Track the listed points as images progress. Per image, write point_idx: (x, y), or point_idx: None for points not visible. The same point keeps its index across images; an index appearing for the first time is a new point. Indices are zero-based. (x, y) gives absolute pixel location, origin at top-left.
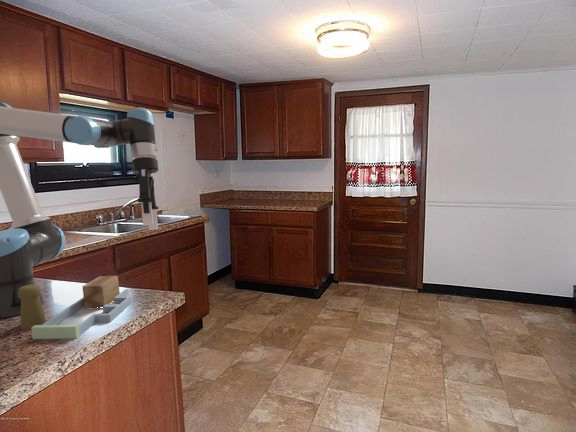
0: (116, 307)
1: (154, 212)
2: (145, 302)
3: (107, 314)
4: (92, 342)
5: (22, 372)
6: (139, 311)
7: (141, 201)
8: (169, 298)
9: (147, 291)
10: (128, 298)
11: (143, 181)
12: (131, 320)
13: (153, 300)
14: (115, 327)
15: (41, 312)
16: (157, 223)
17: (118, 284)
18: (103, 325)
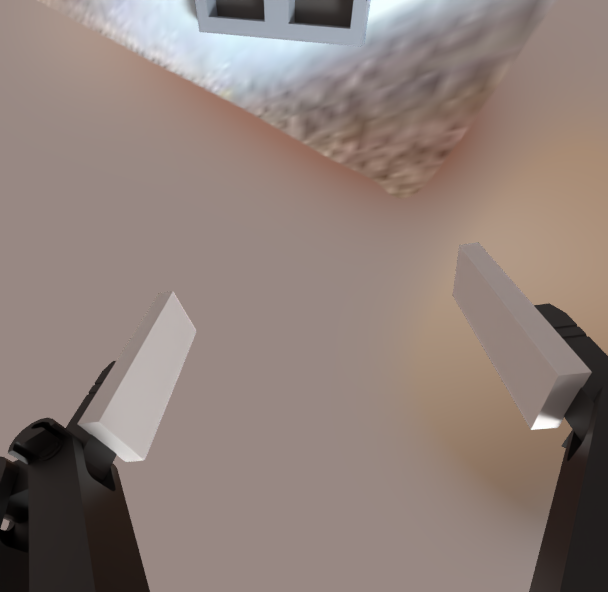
0: (256, 26)
1: (515, 388)
2: (357, 100)
3: (200, 19)
4: (104, 35)
5: None
6: (285, 103)
7: (50, 439)
8: (376, 174)
9: (488, 69)
10: (340, 41)
11: None
12: (226, 99)
13: (370, 125)
14: (183, 65)
15: None
16: (473, 321)
17: None
18: (187, 14)
